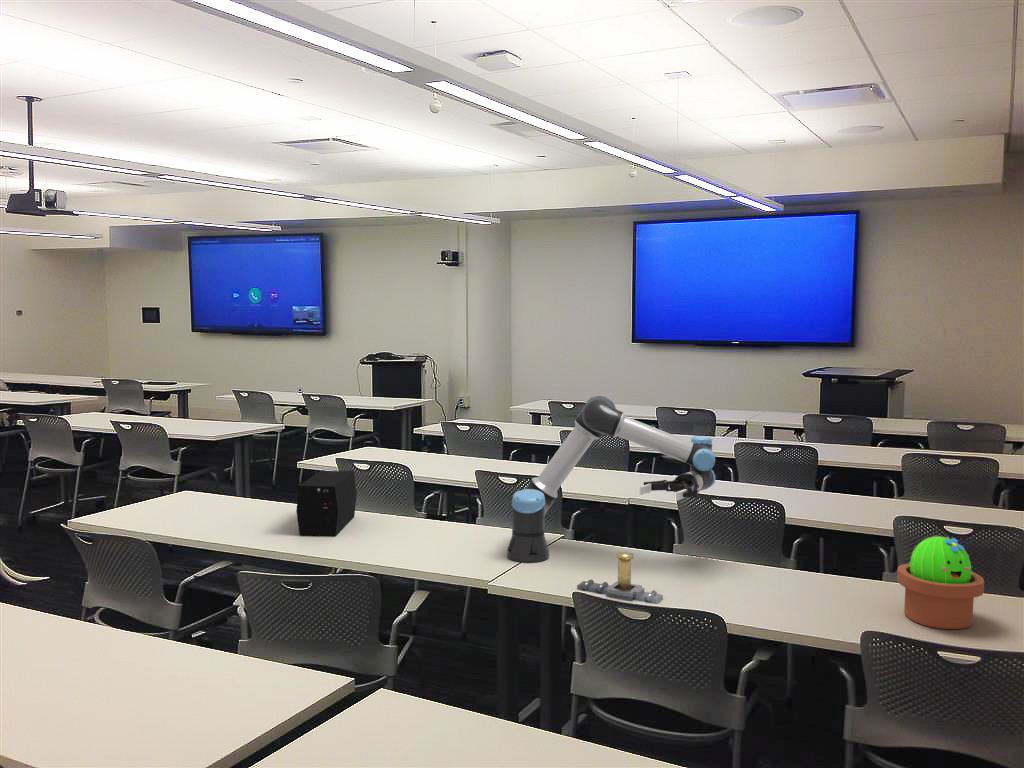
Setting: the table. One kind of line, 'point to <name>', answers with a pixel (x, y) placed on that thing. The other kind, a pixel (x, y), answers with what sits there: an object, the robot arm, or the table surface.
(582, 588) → the chain end left
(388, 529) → the table surface
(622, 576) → the brass pin
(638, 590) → the chain end right
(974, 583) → the potted cactus
